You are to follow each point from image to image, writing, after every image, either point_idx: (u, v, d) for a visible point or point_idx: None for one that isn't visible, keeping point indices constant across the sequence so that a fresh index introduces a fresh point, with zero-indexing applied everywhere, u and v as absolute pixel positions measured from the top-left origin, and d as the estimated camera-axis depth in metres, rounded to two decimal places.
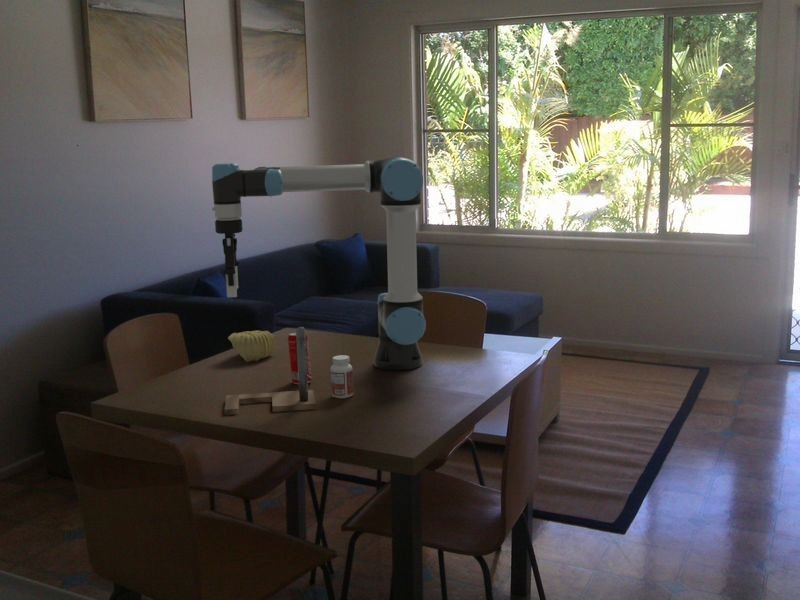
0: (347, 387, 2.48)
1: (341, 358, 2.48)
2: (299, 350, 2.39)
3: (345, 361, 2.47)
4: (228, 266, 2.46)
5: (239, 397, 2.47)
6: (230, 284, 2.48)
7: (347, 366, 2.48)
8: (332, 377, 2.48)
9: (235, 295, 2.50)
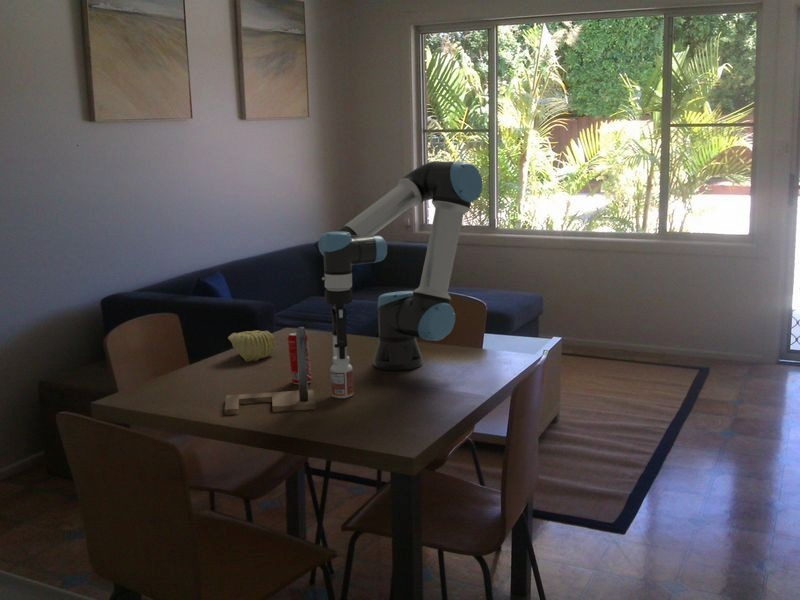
0: (347, 387, 2.48)
1: None
2: (299, 350, 2.39)
3: None
4: (341, 339, 2.38)
5: (239, 397, 2.47)
6: (341, 357, 2.40)
7: (347, 366, 2.48)
8: (332, 377, 2.48)
9: (345, 368, 2.42)
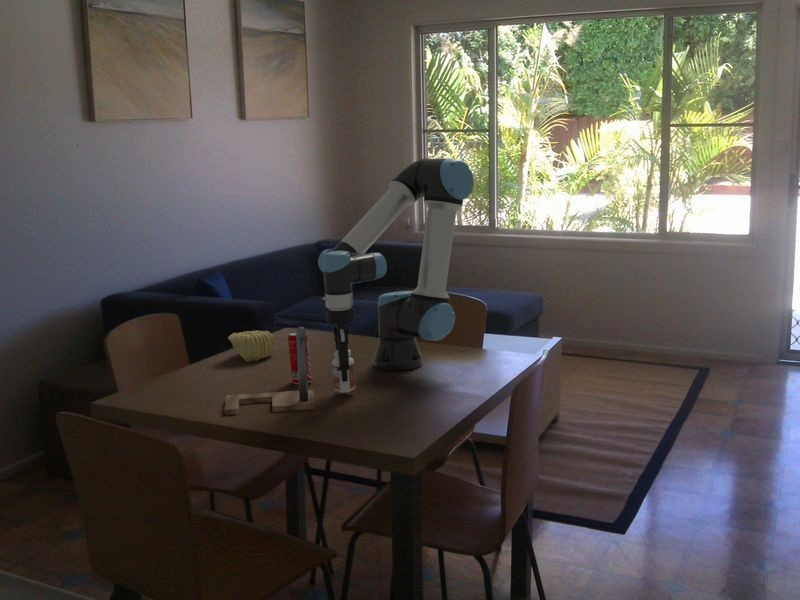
0: None
1: None
2: (299, 350, 2.39)
3: None
4: (343, 363, 2.43)
5: (239, 397, 2.47)
6: (344, 380, 2.46)
7: None
8: (334, 371, 2.48)
9: (348, 390, 2.48)
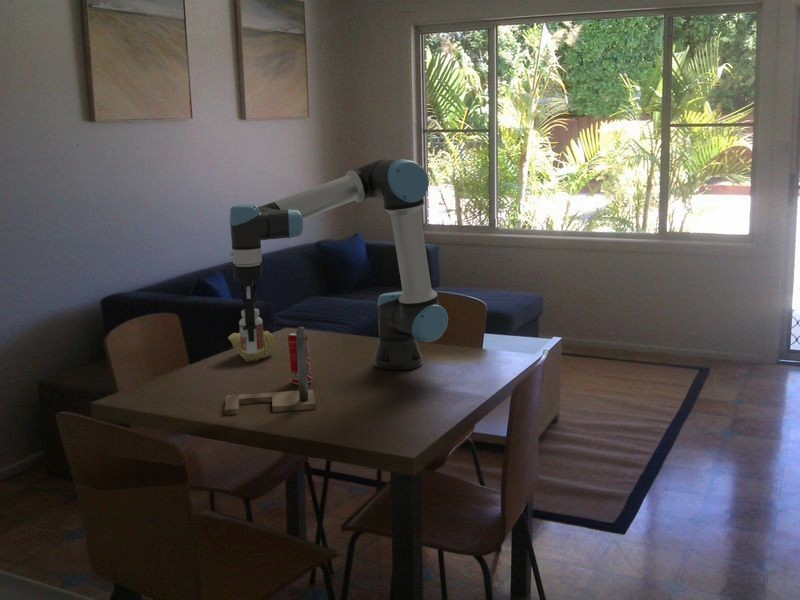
0: None
1: None
2: (299, 350, 2.39)
3: None
4: (249, 322, 2.31)
5: (239, 397, 2.47)
6: (250, 340, 2.34)
7: (256, 319, 2.36)
8: (241, 331, 2.37)
9: (255, 351, 2.36)
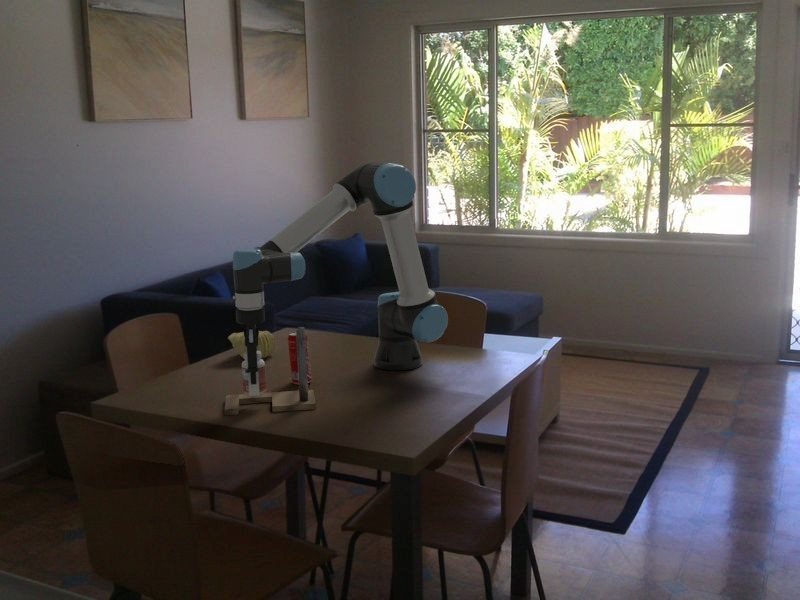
0: (259, 383, 2.39)
1: None
2: (299, 350, 2.39)
3: None
4: (251, 365, 2.33)
5: (239, 397, 2.47)
6: (252, 382, 2.36)
7: (258, 362, 2.39)
8: (243, 373, 2.39)
9: (258, 393, 2.38)
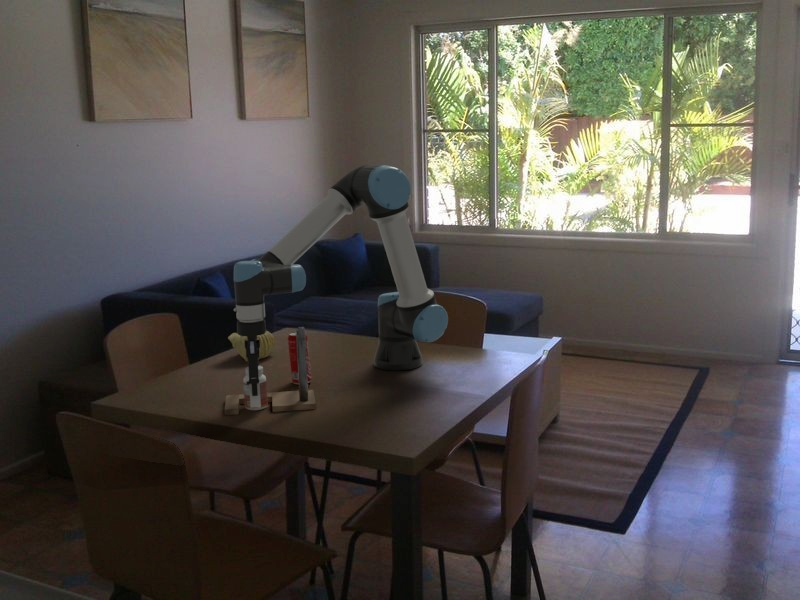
0: (260, 398, 2.39)
1: None
2: (299, 350, 2.39)
3: (258, 372, 2.39)
4: (252, 376, 2.32)
5: (239, 397, 2.47)
6: (254, 394, 2.35)
7: (260, 377, 2.39)
8: (244, 388, 2.40)
9: (259, 405, 2.37)
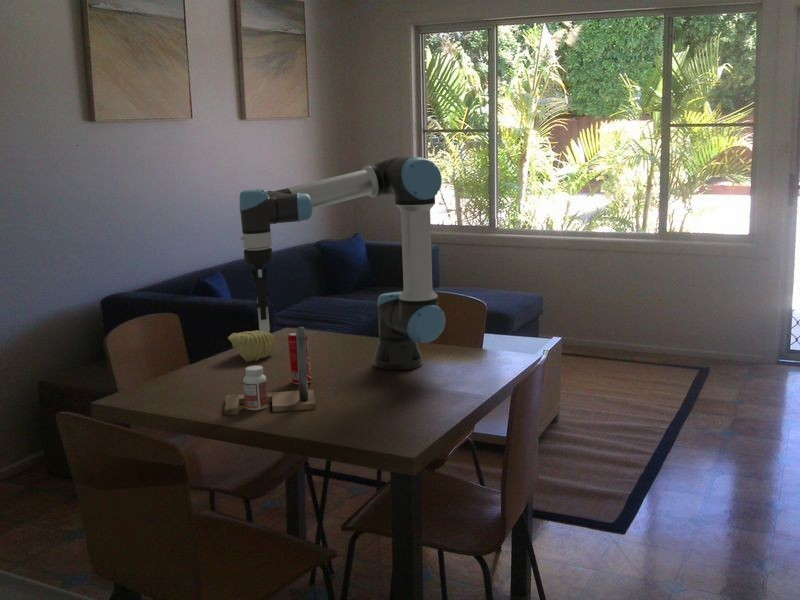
0: (260, 398, 2.39)
1: (254, 369, 2.39)
2: (299, 350, 2.39)
3: (258, 372, 2.39)
4: (261, 299, 2.33)
5: (239, 397, 2.47)
6: (263, 318, 2.35)
7: (260, 377, 2.39)
8: (244, 388, 2.40)
9: (268, 329, 2.37)
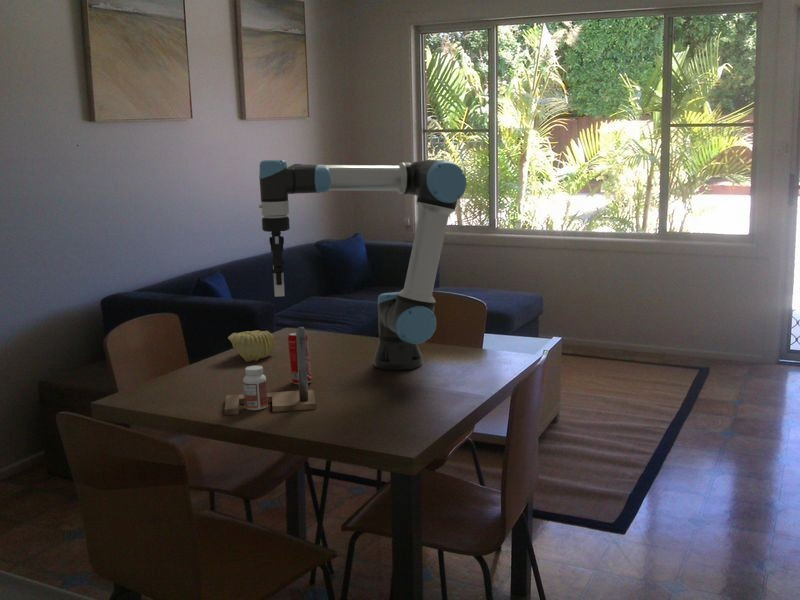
0: (260, 398, 2.39)
1: (254, 369, 2.39)
2: (299, 350, 2.39)
3: (258, 372, 2.39)
4: (277, 264, 2.41)
5: (239, 397, 2.47)
6: (278, 283, 2.43)
7: (260, 377, 2.39)
8: (244, 388, 2.40)
9: (283, 294, 2.45)
